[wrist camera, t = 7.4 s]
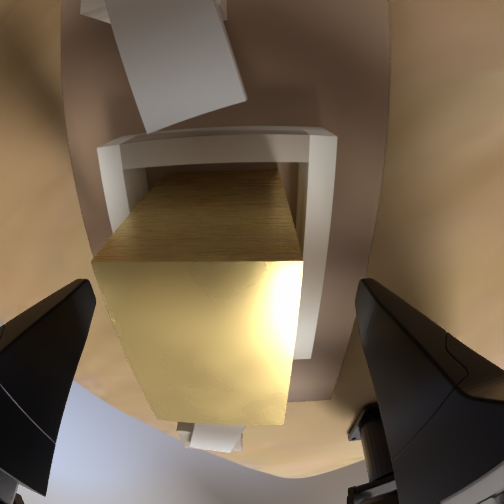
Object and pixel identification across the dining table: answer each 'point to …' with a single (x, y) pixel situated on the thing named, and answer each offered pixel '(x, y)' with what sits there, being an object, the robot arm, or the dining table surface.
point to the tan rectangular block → (207, 295)
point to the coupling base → (240, 135)
